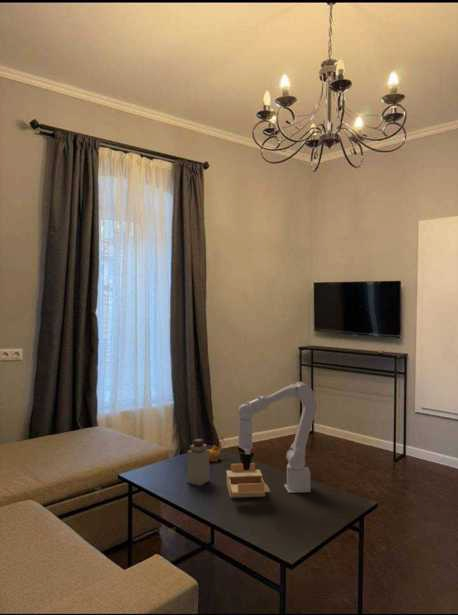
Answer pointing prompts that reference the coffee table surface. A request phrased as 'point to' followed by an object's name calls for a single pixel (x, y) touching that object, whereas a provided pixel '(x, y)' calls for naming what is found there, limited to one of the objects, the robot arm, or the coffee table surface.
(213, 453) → the magic lamp
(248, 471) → the far panel
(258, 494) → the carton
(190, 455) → the perfume bottle
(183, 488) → the coffee table surface
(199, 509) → the coffee table surface
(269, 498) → the coffee table surface
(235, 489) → the near panel
